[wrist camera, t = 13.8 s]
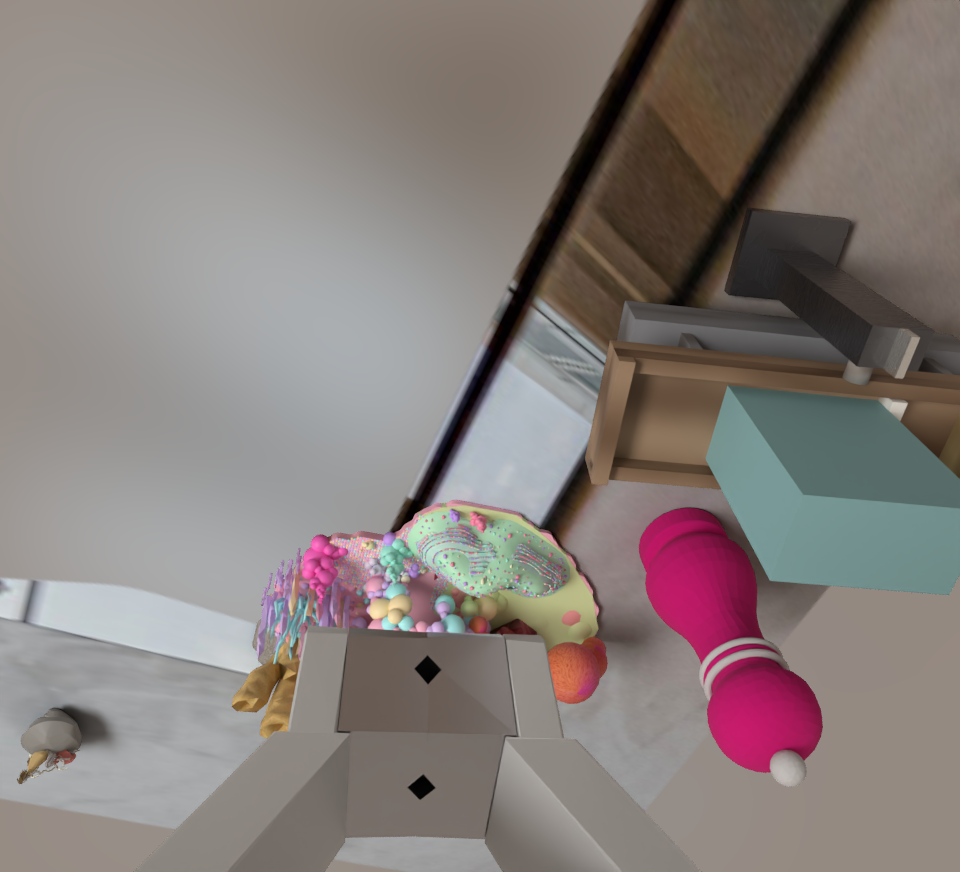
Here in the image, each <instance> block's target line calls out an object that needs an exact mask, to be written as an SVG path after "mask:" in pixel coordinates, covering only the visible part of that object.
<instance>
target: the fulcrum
mask: <svg viewBox="0 0 960 872" xmlns="http://www.w3.org/2000/svg"><path fill="white" fill-rule="evenodd" d="M850 224H851V221H849V220H847V219H845V218H838V217H828V216H819V215H809V214H800V213H791V212H781V211H772V210H763V209H753V208H747V211H746V215H745V219H744V222H743V226H742V229H741V233H740V236H739V240H738V244H737V247H736V251H735V254H734V258H733V261H732V265H731V269H730V272H729V276H728V279H727V283H726V286H725V290H724V291H725V292H726V293H727V294H728V295H733V296H744V297H754V298H765V299H776V300H780V301H781V302H782V303H783V304H784V305H786V306H787V307H788V308H789V309H790V310H791V311H793V312H794V313H795V314H796V315H797V316H799V317H800V318H801V319H802V320H803V321H804V322H806V323H807V324H808V325H809V326H810V327H811V328H813V329H814V330H815V331H816V332H817V333H818V334H820V335H821V336H822V337H823V338H824V339H825V340H827V341H828V342H829V343H830V344H831V345H832V346H834V347H835V348H836V349H837V350H838V351H839V352H841V353H842V354H843V355H844V356H845V357H847V358H848V359H849V360H850V361H851V362H852V363H854V364H855V365H856V366H857V367H868V368H880V369H884V370H886V371H887V372H888V373H889V374H891V375H892V376H893V377H894V378H900V379H903V378H904V376H905V373H906V371H916V372H918V369H919V367H920V365H921V362H922V360H923V358H924V355H925V353H926V351H927V348H928V346H929V344H930V341H931V339H932V337H933V334H934V332H935V331H933V330H932V329H930V328H929V327H927V326H926V325H924V324H923V323H921V322H920V321H918V320H916V319H915V318H913V317H912V316H910V315H909V314H907V313H906V312H904V311H903V310H901V309H900V308H898V307H897V306H895V305H894V304H892V303H891V302H889V301H888V300H886V299H885V298H883V297H881V296H880V295H878V294H877V293H875V292H874V291H872V290H871V289H869V288H868V287H866V286H865V285H863V284H862V283H860V282H859V281H857V280H856V279H854V278H853V277H851V276H850V275H848V274H846V273H845V272H843V271H842V270H840V269H839V268H837V267H836V264H837V262H838V259H839V256H840V253H841V250H842V247H843V244H844V241H845V238H846V236H847V233H848V230H849V227H850Z"/></svg>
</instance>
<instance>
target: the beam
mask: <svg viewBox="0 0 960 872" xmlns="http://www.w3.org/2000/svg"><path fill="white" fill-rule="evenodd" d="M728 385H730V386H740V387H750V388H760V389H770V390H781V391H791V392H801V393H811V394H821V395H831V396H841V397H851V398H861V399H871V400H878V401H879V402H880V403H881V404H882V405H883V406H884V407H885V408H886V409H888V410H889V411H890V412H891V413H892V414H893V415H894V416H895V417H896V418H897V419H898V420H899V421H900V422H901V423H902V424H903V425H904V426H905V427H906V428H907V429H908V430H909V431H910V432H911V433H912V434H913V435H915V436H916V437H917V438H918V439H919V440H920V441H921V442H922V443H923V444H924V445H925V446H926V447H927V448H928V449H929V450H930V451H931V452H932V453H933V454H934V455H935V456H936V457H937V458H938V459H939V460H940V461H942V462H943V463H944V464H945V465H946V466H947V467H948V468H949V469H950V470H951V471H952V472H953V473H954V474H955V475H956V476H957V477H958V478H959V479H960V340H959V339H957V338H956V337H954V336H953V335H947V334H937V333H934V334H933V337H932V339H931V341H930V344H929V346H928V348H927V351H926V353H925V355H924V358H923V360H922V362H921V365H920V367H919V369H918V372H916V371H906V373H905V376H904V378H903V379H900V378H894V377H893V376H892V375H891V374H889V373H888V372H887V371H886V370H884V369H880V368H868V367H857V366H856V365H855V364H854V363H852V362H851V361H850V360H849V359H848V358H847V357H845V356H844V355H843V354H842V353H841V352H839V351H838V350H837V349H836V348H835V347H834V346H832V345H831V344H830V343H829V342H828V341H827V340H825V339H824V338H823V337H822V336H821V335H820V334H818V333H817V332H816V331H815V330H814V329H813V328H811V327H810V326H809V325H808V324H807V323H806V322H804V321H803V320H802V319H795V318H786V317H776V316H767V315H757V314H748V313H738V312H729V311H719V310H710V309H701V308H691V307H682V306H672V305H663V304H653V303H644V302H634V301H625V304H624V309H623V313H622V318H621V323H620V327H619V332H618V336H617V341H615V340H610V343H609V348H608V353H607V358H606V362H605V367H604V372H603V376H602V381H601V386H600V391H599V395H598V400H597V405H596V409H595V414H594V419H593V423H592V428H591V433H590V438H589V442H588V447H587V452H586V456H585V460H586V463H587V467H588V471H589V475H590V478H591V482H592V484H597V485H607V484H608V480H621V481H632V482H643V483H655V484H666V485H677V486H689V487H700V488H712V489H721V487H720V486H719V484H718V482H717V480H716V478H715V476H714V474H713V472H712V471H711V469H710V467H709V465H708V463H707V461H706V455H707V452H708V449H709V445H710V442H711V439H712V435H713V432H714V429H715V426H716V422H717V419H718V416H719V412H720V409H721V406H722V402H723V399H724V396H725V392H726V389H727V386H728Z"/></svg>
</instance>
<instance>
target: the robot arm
mask: <svg viewBox="0 0 960 872" xmlns="http://www.w3.org/2000/svg"><path fill="white" fill-rule="evenodd" d="M407 836H418V837H444V838H469V839H485V844H486V846H487V847H488V849H489V850H490V852H491V854H492V855H493V857H494V858H495V860H496V862H497V863H498V865H499V866H500V868H501V870H502V871H503V872H702V871H701V870H700V869H699V868H698V867H697V866H696V865H695V864H694V863H693V862H692V861H691V860H690V859H689V858H688V857H687V856H686V855H685V854H684V853H683V851H682V850H681V849H680V848H679V847H678V846H677V845H676V844H675V843H674V842H673V841H672V840H671V839H670V838H669V837H668V836H667V835H666V833H665V832H664V831H663V830H662V829H661V828H660V827H659V826H658V825H657V824H656V823H655V822H654V821H653V820H652V819H651V818H650V817H649V816H648V815H647V814H646V812H645V811H644V810H643V809H642V808H641V807H640V806H639V805H638V804H637V803H636V802H635V801H634V800H633V799H632V798H631V797H630V796H629V795H628V793H627V792H626V791H625V790H624V789H623V788H622V787H621V786H620V785H619V784H618V783H617V782H616V781H615V780H614V779H613V778H612V777H611V776H610V775H609V773H608V772H607V771H606V770H605V769H604V768H603V767H602V766H601V765H600V764H599V763H598V762H597V761H596V760H595V759H594V758H593V757H592V756H591V755H590V753H589V752H588V751H587V750H586V749H585V748H584V747H583V746H582V745H581V744H580V743H579V742H578V741H577V740H576V739H564V735H563V730H562V725H561V720H560V715H559V710H558V705H557V700H556V695H555V690H554V684H553V679H552V674H551V669H550V664H549V659H548V654H547V649H546V644H545V640H544V639H543V638H542V636H541V635H518V634H503V635H501V634H476V633H444V632H414V631H398V630H383V629H367V628H352V627H350V629H349V628H337V627H323V626H310V625H309V626H308V629H307V631H306V633H305V636H304V642H303V647H302V653H301V658H300V664H299V669H298V675H297V680H296V686H295V691H294V697H293V702H292V707H291V713H290V718H289V724H288V729H287V731H274V732H273V733H272V734H271V735H270V736H269V737H268V738H267V739H266V740H265V741H264V742H263V743H262V744H261V745H260V746H259V747H258V748H257V749H256V750H255V751H254V752H253V753H252V754H251V755H250V756H249V757H248V758H247V759H246V760H245V761H244V762H243V763H242V764H241V765H240V766H239V767H238V768H237V769H236V770H235V771H234V772H233V773H232V774H231V775H230V776H229V777H228V778H227V779H226V780H225V781H224V782H223V783H222V784H221V785H220V786H219V787H218V788H217V789H216V790H215V791H214V792H213V793H212V794H211V795H210V796H209V797H208V798H207V799H206V800H205V801H204V802H203V803H202V804H201V805H200V806H199V807H198V808H197V809H196V810H195V811H194V812H193V813H192V814H191V815H190V816H189V817H188V818H187V819H186V820H185V821H184V822H183V823H182V824H181V825H180V826H179V827H178V828H177V829H176V830H175V831H174V832H173V833H172V834H171V835H170V836H169V837H168V838H167V839H166V840H165V841H164V842H163V843H162V844H161V845H160V846H159V847H158V848H157V849H156V850H155V851H154V852H153V853H152V854H151V855H150V856H149V857H148V858H147V859H146V860H145V861H144V862H143V863H142V864H141V865H140V866H139V867H138V868H137V869H136V870H135V871H134V872H325V871H326V869H327V868H328V866H329V865H330V863H331V862H332V860H333V859H334V857H335V856H336V854H337V853H338V851H339V850H340V848H341V847H342V845H343V844H344V843H345V838H352V837H407Z"/></svg>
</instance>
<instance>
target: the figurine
mask: <svg viewBox="0 0 960 872" xmlns="http://www.w3.org/2000/svg"><path fill="white" fill-rule="evenodd" d="M81 740H82V734H81V733H80V730H79V727H78V725H77V723H76V721H75V720H74V719H72V718H71V717H70V716H69V715H68V714H66V713H65V712H63V711H61V710H59V709H56V708H52V709H49V711H48V713H46V714H45V715H44V717H40V718H38V719H37V720H35V721H34V722H33V723H32V724H31V725H30V727H29V729H28V730H27V731H26V732H25V733H24V734H23V736H22V738H21V744H22V747H23V748H24V749H25V750H26V751H28V752H29V753H30V755H29V756H30V758H28V761H27V762H28V771H27V772H26V770H25V772H24V771H22V773H21V774H20V778H19V780H18V779H17V781H18V783H19V784H22V783H24V782H25V781H26V780H27V778H29V777H32V778H35V777H37V776H39V775H40V774H41V773H43V772H44V771H47V770H43V771H42V772H41V773H40V771H36V770H37V769H38V768H39V766H40V765H41V764H42V763H43V762H44V761H46V760H47V761H46V763H45V766H46V767H47V768H49V767H51V766H53V765H55V767H54V768H57V769H58V767H57V765H56V763H58V762H59V760H61V761H62V762H63V767H64V764H68V763H70V762H72V761H73V760H74V759H75V757H76V754H75V752H76V751H79V750H78V749H79V748H80V745H81ZM54 758H56V759H55V760H53V759H54ZM52 760H53V761H52ZM54 768H53V769H54ZM67 768H68V767H67ZM67 768H66V769H67ZM35 769H36V770H35ZM53 769H52V770H53ZM52 770H49V771H52ZM58 770H64V769H58ZM49 771H47V772H49ZM35 772H38V773H39V774H38V775H37V776H34V777H33V775H32V774H34V773H35Z"/></svg>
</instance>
